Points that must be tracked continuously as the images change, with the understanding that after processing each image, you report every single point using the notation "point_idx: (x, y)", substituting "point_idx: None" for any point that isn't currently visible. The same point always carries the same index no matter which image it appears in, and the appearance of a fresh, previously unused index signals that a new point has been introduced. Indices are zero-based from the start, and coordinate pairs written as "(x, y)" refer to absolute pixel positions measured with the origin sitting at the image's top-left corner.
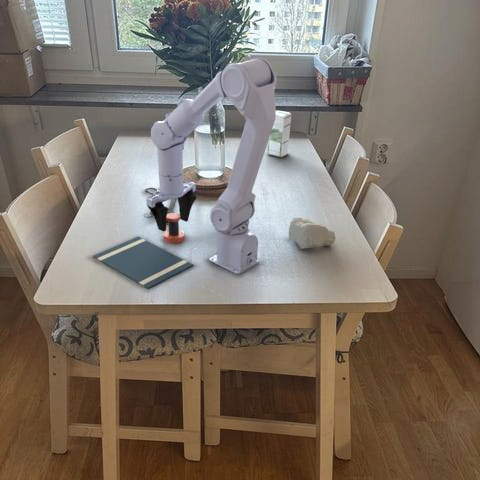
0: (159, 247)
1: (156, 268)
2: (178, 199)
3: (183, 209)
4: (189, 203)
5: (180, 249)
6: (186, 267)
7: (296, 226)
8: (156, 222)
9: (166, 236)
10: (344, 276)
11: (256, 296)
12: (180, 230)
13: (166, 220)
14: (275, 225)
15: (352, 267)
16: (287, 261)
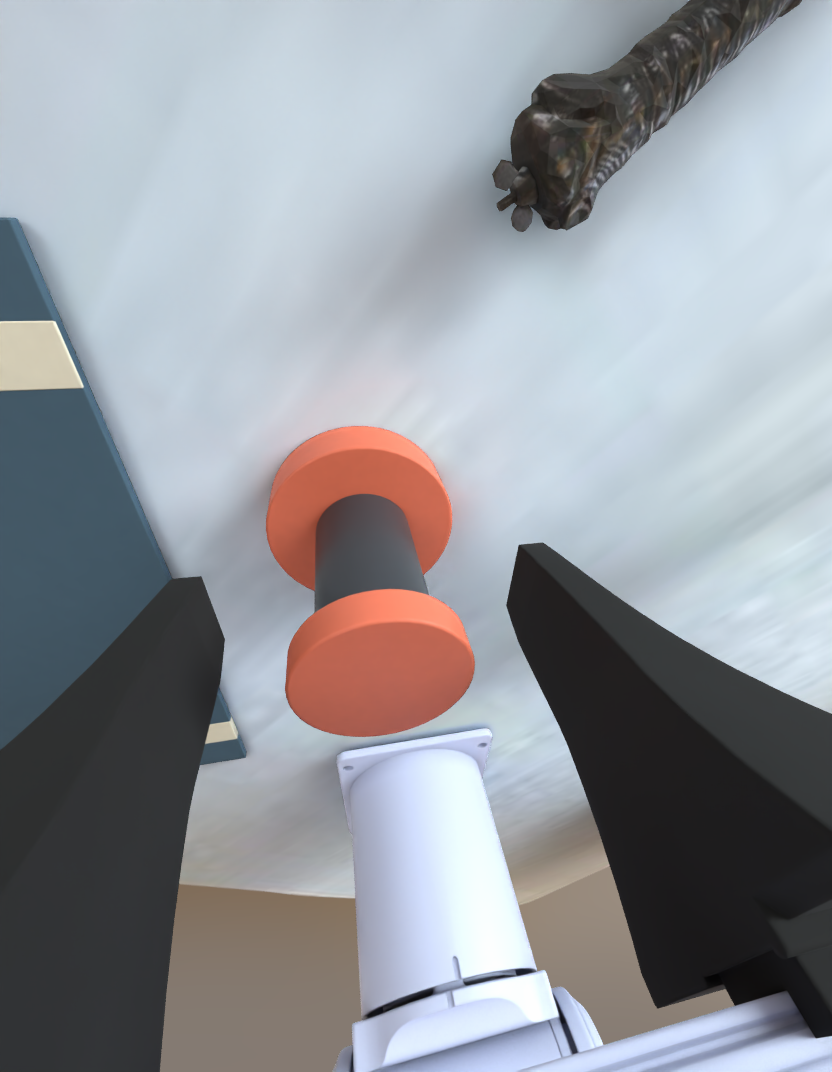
0: (157, 561)
1: (12, 726)
2: (690, 737)
3: (577, 677)
4: (609, 860)
5: (294, 629)
6: None
7: None
8: (117, 643)
9: (276, 531)
10: (547, 866)
11: (309, 880)
12: (448, 519)
13: (551, 208)
14: (793, 671)
15: (597, 853)
16: (536, 813)
